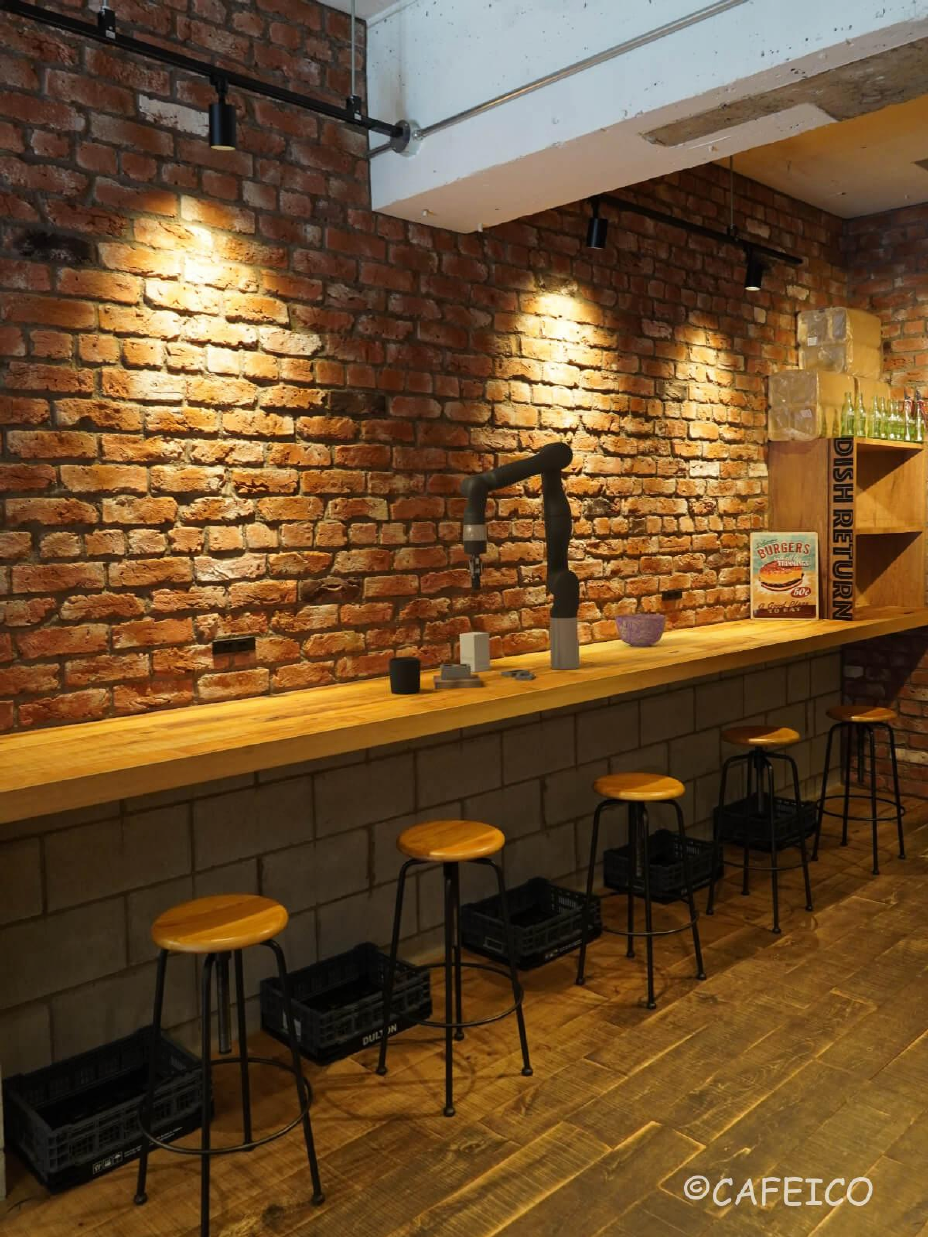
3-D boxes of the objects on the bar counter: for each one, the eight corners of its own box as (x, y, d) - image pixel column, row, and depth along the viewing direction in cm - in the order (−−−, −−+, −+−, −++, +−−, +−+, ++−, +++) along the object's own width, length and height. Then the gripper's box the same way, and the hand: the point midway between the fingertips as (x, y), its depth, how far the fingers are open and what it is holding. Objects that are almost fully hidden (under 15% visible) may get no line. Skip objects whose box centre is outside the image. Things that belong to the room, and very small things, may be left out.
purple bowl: (611, 648, 402) (610, 618, 401) (619, 642, 421) (618, 614, 420) (663, 649, 396) (663, 619, 395) (669, 643, 415) (669, 614, 414)
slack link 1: (519, 672, 344) (519, 669, 343) (529, 674, 340) (529, 670, 340) (501, 675, 339) (501, 671, 338) (511, 677, 335) (511, 673, 335)
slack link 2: (518, 676, 336) (518, 672, 336) (534, 676, 335) (534, 672, 335) (515, 680, 328) (515, 676, 328) (530, 680, 327) (530, 676, 327)
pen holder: (427, 691, 311) (426, 657, 310) (408, 695, 303) (407, 661, 303) (402, 688, 316) (401, 656, 316) (383, 693, 309) (382, 659, 308)
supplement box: (490, 670, 352) (489, 632, 351) (474, 672, 347) (473, 634, 346) (476, 668, 357) (475, 631, 356) (459, 670, 353) (458, 633, 351)
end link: (469, 676, 325) (469, 663, 325) (471, 679, 319) (470, 666, 319) (440, 677, 324) (440, 664, 324) (441, 680, 318) (441, 667, 318)
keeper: (477, 680, 329) (477, 661, 329) (481, 687, 315) (481, 667, 315) (433, 682, 328) (433, 663, 328) (435, 688, 315) (434, 669, 314)
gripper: (488, 539, 329) (489, 590, 331) (484, 538, 344) (485, 587, 345) (464, 539, 329) (466, 591, 330) (461, 539, 343) (463, 588, 345)
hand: (476, 589), depth 338 cm, fingers open, 8 cm apart
